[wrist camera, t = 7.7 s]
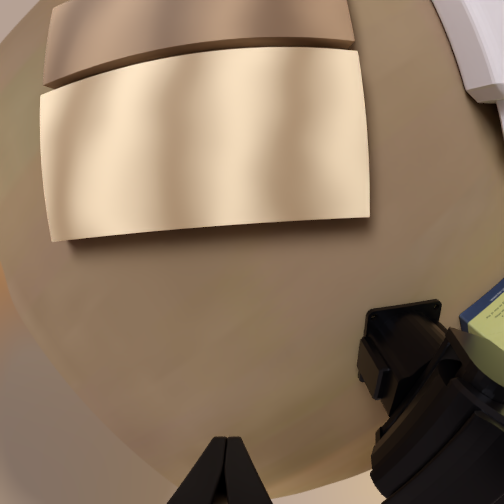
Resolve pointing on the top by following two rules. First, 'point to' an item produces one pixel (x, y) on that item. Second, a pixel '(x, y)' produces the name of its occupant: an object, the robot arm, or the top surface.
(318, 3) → the walnut board
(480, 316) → the protein box
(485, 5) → the charger
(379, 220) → the top surface
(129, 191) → the oak plank
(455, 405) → the robot arm
